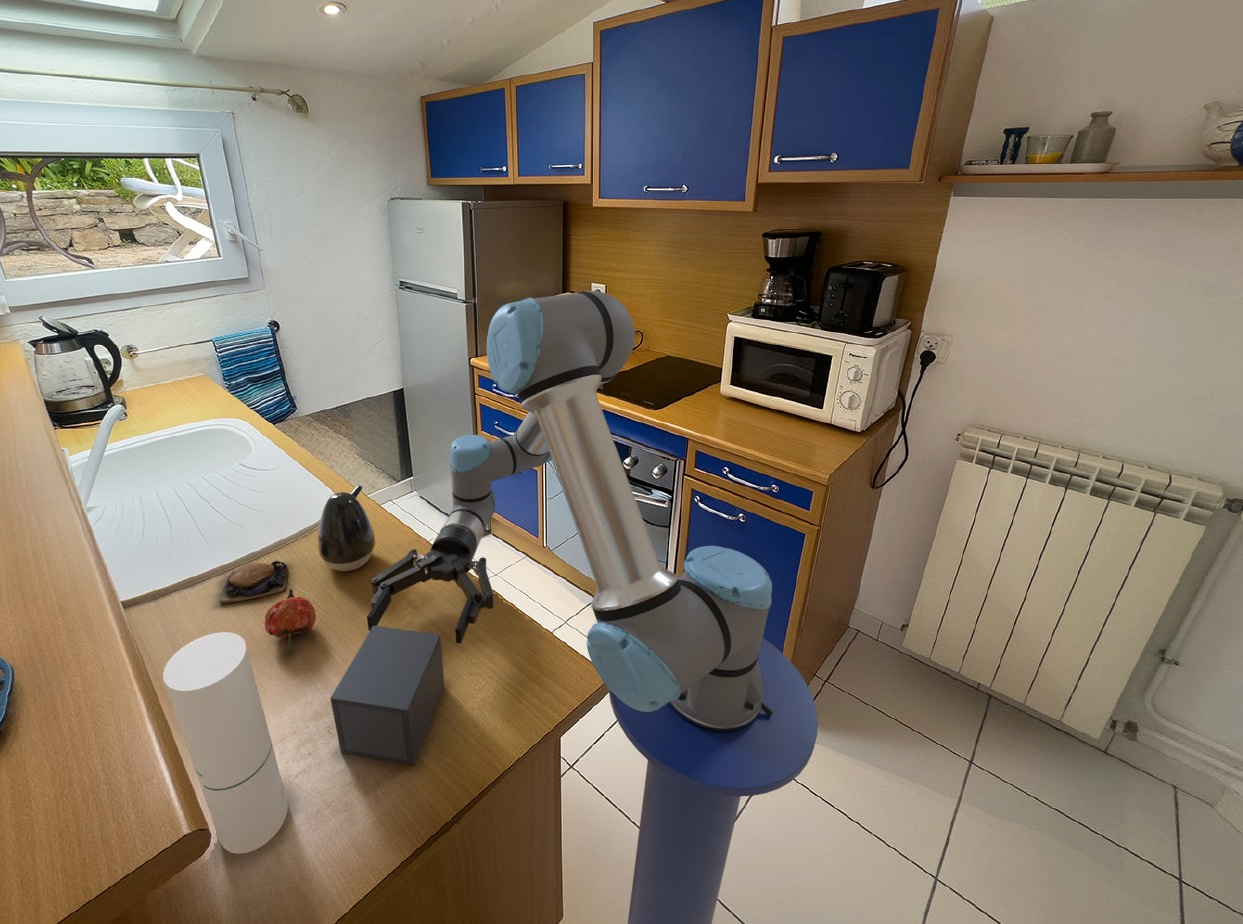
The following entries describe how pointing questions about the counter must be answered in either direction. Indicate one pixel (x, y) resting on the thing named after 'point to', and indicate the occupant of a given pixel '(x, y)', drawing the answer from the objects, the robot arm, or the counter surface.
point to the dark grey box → (389, 695)
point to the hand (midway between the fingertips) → (413, 630)
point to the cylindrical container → (228, 739)
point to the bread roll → (254, 581)
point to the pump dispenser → (345, 532)
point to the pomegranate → (290, 617)
